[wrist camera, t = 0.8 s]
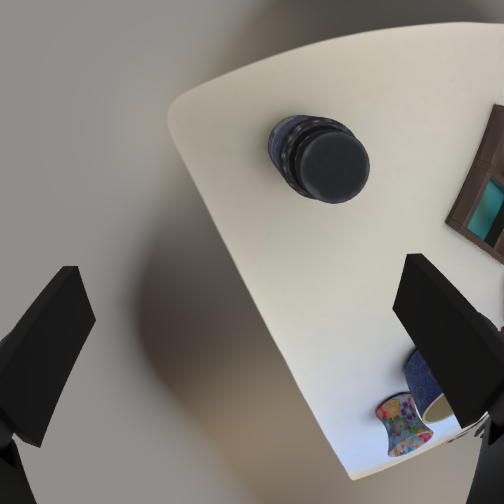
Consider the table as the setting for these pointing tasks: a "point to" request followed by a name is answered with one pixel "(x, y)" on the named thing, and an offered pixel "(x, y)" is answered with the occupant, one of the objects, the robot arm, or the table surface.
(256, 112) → the table surface
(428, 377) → the planter
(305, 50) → the table surface
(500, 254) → the wooden box
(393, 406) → the floral vase
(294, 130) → the pill bottle
